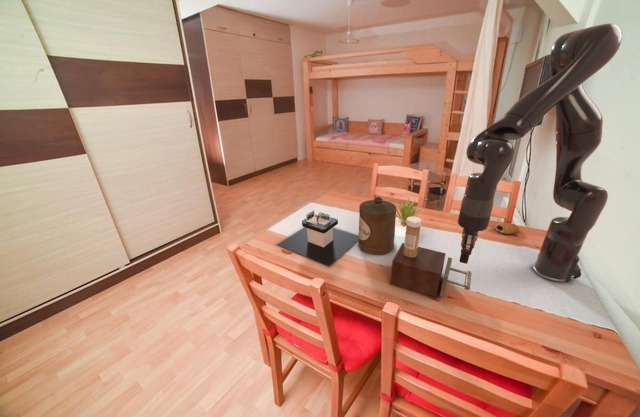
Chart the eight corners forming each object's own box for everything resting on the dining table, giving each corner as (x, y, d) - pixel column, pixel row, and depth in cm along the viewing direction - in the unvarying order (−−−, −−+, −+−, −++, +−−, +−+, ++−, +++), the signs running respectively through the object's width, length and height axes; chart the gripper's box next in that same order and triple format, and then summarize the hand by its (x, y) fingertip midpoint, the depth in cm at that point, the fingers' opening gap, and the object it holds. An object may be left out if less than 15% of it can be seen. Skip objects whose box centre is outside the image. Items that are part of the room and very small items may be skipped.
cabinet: (441, 275, 93) (445, 253, 89) (435, 298, 83) (440, 274, 79) (400, 264, 100) (402, 242, 96) (390, 284, 90) (392, 261, 86)
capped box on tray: (362, 237, 119) (363, 210, 113) (329, 266, 100) (328, 236, 94) (313, 221, 134) (312, 197, 129) (277, 244, 115) (273, 217, 110)
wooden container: (357, 236, 120) (358, 191, 111) (390, 236, 119) (393, 190, 110) (359, 254, 106) (361, 205, 97) (396, 255, 105) (401, 205, 96)
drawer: (468, 282, 88) (473, 263, 85) (466, 304, 79) (471, 284, 76) (408, 265, 97) (410, 247, 94) (400, 284, 88) (402, 265, 85)
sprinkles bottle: (419, 255, 88) (424, 219, 83) (410, 259, 86) (415, 223, 80) (408, 249, 92) (413, 214, 86) (400, 253, 90) (403, 218, 84)
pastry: (509, 226, 123) (512, 218, 121) (522, 233, 117) (525, 225, 115) (492, 228, 121) (494, 221, 120) (504, 235, 115) (506, 228, 114)
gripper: (491, 223, 66) (476, 278, 73) (491, 204, 76) (478, 254, 84) (458, 217, 70) (447, 270, 77) (462, 200, 80) (452, 248, 87)
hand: (463, 261), depth 80 cm, fingers closed
